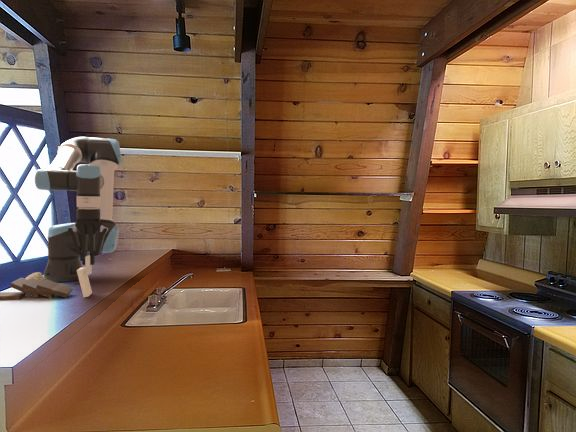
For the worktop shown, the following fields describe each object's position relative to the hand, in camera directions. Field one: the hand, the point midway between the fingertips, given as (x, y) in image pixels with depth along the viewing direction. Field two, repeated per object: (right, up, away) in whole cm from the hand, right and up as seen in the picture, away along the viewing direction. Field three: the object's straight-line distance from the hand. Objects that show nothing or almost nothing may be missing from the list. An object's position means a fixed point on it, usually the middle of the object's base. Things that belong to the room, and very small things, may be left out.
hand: (88, 273), depth 138 cm
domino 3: (-11, -6, -3) cm, 13 cm away
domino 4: (-6, -6, -2) cm, 9 cm away
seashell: (-23, -7, +3) cm, 24 cm away
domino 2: (-15, -6, -3) cm, 16 cm away
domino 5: (0, -8, 0) cm, 8 cm away
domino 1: (-20, -7, -5) cm, 22 cm away
